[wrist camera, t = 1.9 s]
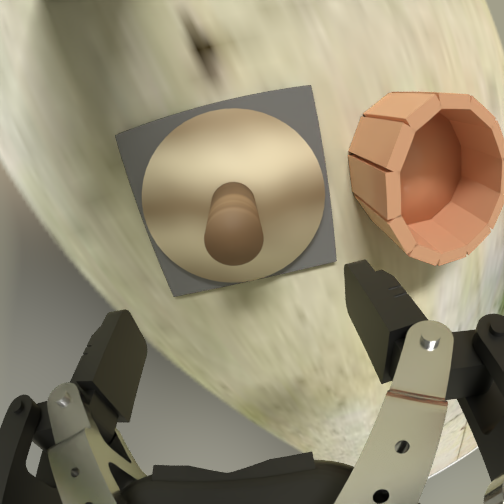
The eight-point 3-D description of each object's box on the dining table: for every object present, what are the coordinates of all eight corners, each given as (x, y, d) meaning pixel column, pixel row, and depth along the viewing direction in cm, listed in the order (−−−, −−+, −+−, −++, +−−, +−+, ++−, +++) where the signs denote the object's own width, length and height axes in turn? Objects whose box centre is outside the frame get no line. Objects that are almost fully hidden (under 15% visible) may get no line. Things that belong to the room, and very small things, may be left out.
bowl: (338, 95, 18) (375, 93, 13) (458, 93, 18) (506, 98, 12) (356, 242, 24) (386, 281, 18) (461, 217, 23) (500, 244, 18)
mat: (117, 134, 18) (114, 135, 18) (309, 85, 18) (311, 85, 17) (174, 293, 25) (173, 296, 24) (334, 258, 24) (336, 261, 24)
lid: (122, 139, 18) (77, 155, 12) (305, 92, 18) (339, 86, 12) (177, 290, 24) (163, 348, 18) (330, 257, 24) (359, 308, 18)
